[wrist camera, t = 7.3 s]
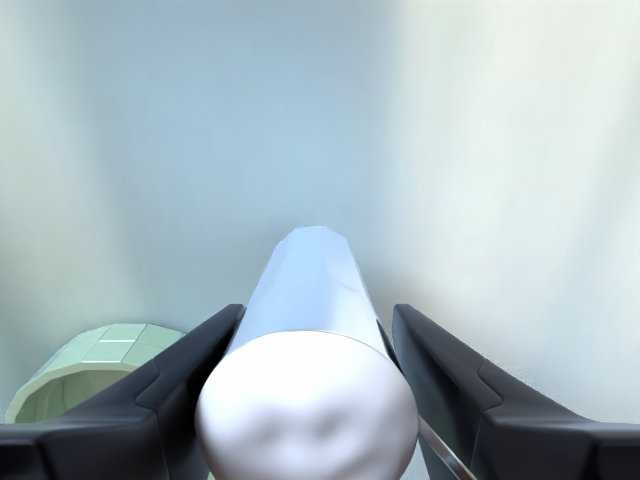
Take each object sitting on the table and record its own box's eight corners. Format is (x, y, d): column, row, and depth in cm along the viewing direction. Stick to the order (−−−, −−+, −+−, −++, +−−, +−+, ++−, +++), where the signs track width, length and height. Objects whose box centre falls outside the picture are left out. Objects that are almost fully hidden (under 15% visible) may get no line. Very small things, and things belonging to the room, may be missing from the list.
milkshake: (393, 304, 16) (493, 603, 7) (267, 316, 16) (194, 621, 7) (389, 199, 14) (513, 405, 5) (247, 214, 15) (117, 438, 5)
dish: (257, 474, 24) (249, 529, 21) (75, 474, 24) (41, 530, 21) (244, 319, 20) (231, 361, 17) (21, 320, 20) (-31, 362, 17)
